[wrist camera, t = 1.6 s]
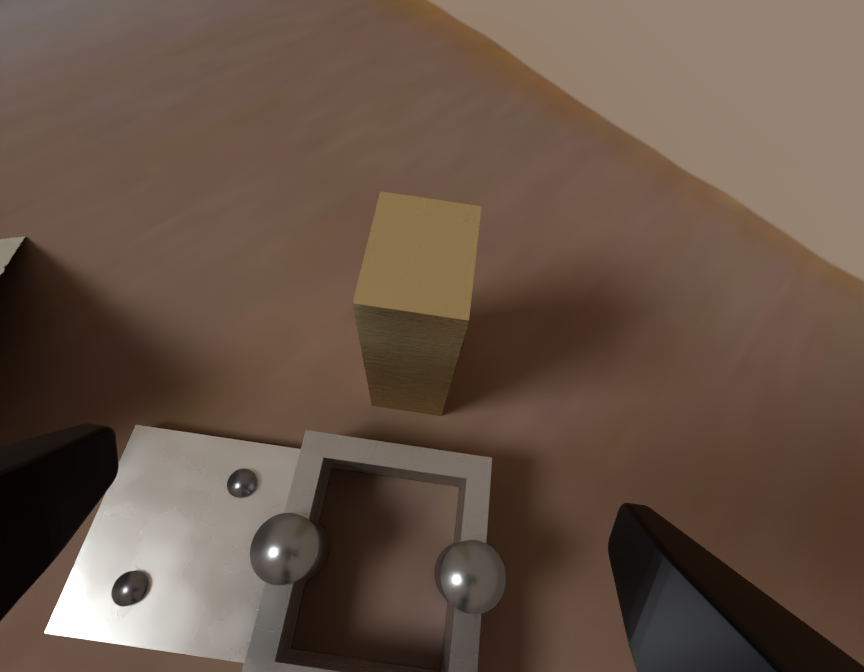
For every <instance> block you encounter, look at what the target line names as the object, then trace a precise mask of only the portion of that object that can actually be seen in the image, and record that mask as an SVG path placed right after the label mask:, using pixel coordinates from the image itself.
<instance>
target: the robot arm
mask: <svg viewBox="0 0 864 672" xmlns="http://www.w3.org/2000/svg"><path fill="white" fill-rule="evenodd" d="M118 468H119V464H118V454H117V444H116V435H115V432H114V430H113V429H112V428H110V427H108V426H102V425H95V424H82V425H79V426H75V427H71V428H67V429H64V430H60V431H56V432H52V433H49V434H45V435H41V436H37V437H34V438H30V439H26V440H22V441H18V442H15V443H11V444H7V445H3V446H0V621H1V620H2V619H3V618H4V617H5V615H6V614H7V613H8V612H9V611H10V610H11V609H12V608H13V607H14V605H15V604H16V603H17V602H18V601H19V600H20V599H21V598H22V596H23V595H24V594H25V593H26V592H27V591H28V590H29V589H30V587H31V586H32V585H33V584H34V583H35V582H36V581H37V580H38V579H39V577H40V576H41V575H42V574H43V573H44V572H45V570H46V569H47V568H48V567H49V566H50V565H51V563H52V562H53V561H54V560H55V559H56V557H57V556H58V555H59V554H60V552H61V551H62V550H63V548H64V547H65V546H66V545H67V543H68V542H69V541H70V539H71V538H72V537H73V535H74V534H75V533H76V531H77V530H78V529H79V527H80V526H81V525H82V523H83V522H84V521H85V519H86V518H87V517H88V515H89V514H90V513H91V511H92V510H93V509H94V507H95V506H96V505H97V503H98V502H99V501H100V499H101V498H102V497H103V495H104V494H105V493H106V491H107V490H108V489H109V487H110V486H111V485H112V483H113V482H114V480H115V478H116V476H117V473H118ZM608 553H609V558H610V563H611V567H612V572H613V576H614V581H615V585H616V590H617V594H618V599H619V603H620V608H621V612H622V617H623V621H624V626H625V630H626V634H627V638H628V642H629V646H630V650H631V653H632V656H633V659H634V663H635V666H636V669H637V672H864V666H862V665H861V664H860V663H858V662H857V661H856V660H854V659H853V658H852V657H850V656H849V655H848V654H846V653H845V652H843V651H842V650H841V649H839V648H838V647H837V646H835V645H834V644H833V643H831V642H830V641H829V640H827V639H826V638H825V637H823V636H822V635H821V634H819V633H818V632H817V631H815V630H814V629H812V628H811V627H810V626H808V625H807V624H806V623H804V622H803V621H802V620H800V619H799V618H798V617H796V616H795V615H794V614H792V613H791V612H790V611H788V610H787V609H786V608H784V607H783V606H781V605H780V604H779V603H777V602H776V601H775V600H773V599H772V598H771V597H769V596H768V595H767V594H765V593H764V592H763V591H761V590H760V589H759V588H757V587H756V586H755V585H753V584H752V583H750V582H749V581H748V580H746V579H745V578H744V577H742V576H741V575H740V574H738V573H737V572H736V571H734V570H733V569H732V568H730V567H729V566H728V565H726V564H725V563H724V562H722V561H721V560H720V559H718V558H717V557H715V556H714V555H713V554H711V553H710V552H709V551H707V550H706V549H705V548H703V547H702V546H701V545H699V544H698V543H697V542H695V541H694V540H693V539H691V538H690V537H689V536H687V535H686V534H685V533H683V532H682V531H680V530H679V529H678V528H676V527H675V526H674V525H672V524H671V523H670V522H668V521H667V520H666V519H664V518H663V517H662V516H660V515H659V514H658V513H656V512H655V511H654V510H652V509H651V508H649V507H648V506H645V505H638V504H631V503H625V504H622V505H621V507H620V508H619V510H618V513H617V517H616V520H615V523H614V526H613V529H612V532H611V535H610V538H609V543H608Z"/></svg>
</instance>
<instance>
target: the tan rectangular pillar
mask: <svg viewBox="0 0 864 672" xmlns="http://www.w3.org/2000/svg"><path fill="white" fill-rule="evenodd" d="M480 215H481V206H476V205H469V204H462V203H455V202H449V201H442V200H435V199H428V198H421V197H415V196H408V195H401V194H394V193H387V192H381V191H380V195H379V199H378V203H377V207H376V211H375V215H374V219H373V223H372V227H371V231H370V235H369V239H368V243H367V247H366V251H365V255H364V259H363V263H362V267H361V271H360V275H359V279H358V283H357V288H356V292H355V296H354V300H353V308H354V313H355V319H356V324H357V329H358V335H359V340H360V345H361V351H362V356H363V361H364V367H365V372H366V377H367V383H368V388H369V393H370V399H371V404H372V406H378V407H385V408H392V409H398V410H405V411H412V412H419V413H426V414H432V415H439V416H441V415H442V412H443V408H444V405H445V402H446V398H447V395H448V391H449V388H450V384H451V381H452V377H453V374H454V371H455V367H456V364H457V360H458V357H459V353H460V351H462V347H463V342H464V336H465V333H466V329H467V326H468V322H469V316H470V307H471V298H472V288H473V279H474V270H475V261H476V251H477V242H478V233H479V224H480Z"/></svg>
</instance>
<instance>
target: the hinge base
mask: <svg viewBox="0 0 864 672" xmlns="http://www.w3.org/2000/svg"><path fill="white" fill-rule="evenodd" d="M332 468H335V469H341V470H348V471H355V472H362V473H368V474H375V475H382V476H389V477H395V478H402V479H409V480H416V481H422V482H429V483H436V484H443V485H449V486H456V487H459V497H458V507H457V517H456V527H455V537H454V544H452V545H450V546H448V547H447V548H445V549H444V550H443V551H442V553H441V554H440V556H439V557H438V560H437V562H436V566H435V581H436V584H437V587H438V589H439V591H440V593H441V594H442V595H443V597H444V598H445V599H447V600H448V607H447V617H446V627H445V637H444V647H443V657H442V667H441V671H437V670H431V669H424V668H417V667H411V666H404V665H397V664H390V663H384V662H377V661H370V660H364V659H357V658H350V657H343V656H337V655H330V654H323V653H317V652H310V651H303V650H296V649H291V644H292V640H293V636H294V631H295V627H296V623H297V618H298V614H299V609H300V605H301V601H302V596H303V592H304V587H305V583H306V580H307V579H309V578H311V577H313V576H314V575H316V574H317V573H318V572H319V571H320V570H321V569H322V567H323V566H324V565H325V563H326V561H327V558H328V555H329V550H330V543H329V538H328V535H327V533H326V531H325V529H324V528H323V527H322V526H321V525H320V524H319V522H320V517H321V513H322V509H323V504H324V500H325V495H326V491H327V487H328V482H329V478H330V473H331V469H332ZM491 468H492V458H491V457H484V456H477V455H470V454H464V453H457V452H450V451H443V450H437V449H430V448H423V447H416V446H410V445H403V444H396V443H389V442H383V441H376V440H369V439H362V438H356V437H349V436H342V435H335V434H328V433H322V432H315V431H308V430H306V431H305V435H304V439H303V443H302V446H301V449H297V448H290V447H283V446H276V445H270V444H263V443H256V442H249V441H243V440H236V439H229V438H222V437H215V436H209V435H202V434H195V433H188V432H182V431H175V430H168V429H161V428H155V427H148V426H141V425H135V428H134V430H133V432H132V435H131V437H130V439H129V441H128V444H127V446H126V448H125V450H124V453H123V455H122V457H121V460H120V462H119V468H118V473H117V476H116V478H115V480H114V482H113V483H112V485H111V486H110V487H109V489H108V490H107V491H106V494H105V496H104V498H103V500H102V503H101V505H100V507H99V509H98V512H97V514H96V516H95V519H94V521H93V523H92V525H91V528H90V530H89V532H88V534H87V537H86V539H85V541H84V544H83V546H82V548H81V550H80V553H79V555H78V557H77V559H76V562H75V564H74V566H73V569H72V571H71V573H70V575H69V578H68V580H67V582H66V584H65V587H64V589H63V591H62V593H61V596H60V598H59V600H58V603H57V605H56V607H55V609H54V612H53V614H52V616H51V618H50V621H49V623H48V625H47V628H46V630H45V632H44V633H46V634H53V635H60V636H67V637H73V638H80V639H87V640H93V641H100V642H107V643H114V644H120V645H127V646H134V647H140V648H147V649H154V650H161V651H167V652H174V653H181V654H187V655H194V656H201V657H208V658H214V659H221V660H228V661H234V662H241V663H244V667H243V670H242V672H477V668H478V654H479V639H480V625H481V614H482V613H485V612H488V611H489V610H491V609H492V608H493V607H495V606H496V605H497V603H498V602H499V601H500V599H501V597H502V595H503V593H504V590H505V586H506V572H505V567H504V564H503V562H502V560H501V558H500V556H499V554H498V553H497V552H496V551H495V550H494V549H493V548H492V547H491V546H489V545H488V544H486V540H487V525H488V511H489V497H490V483H491Z"/></svg>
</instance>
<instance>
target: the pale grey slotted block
mask: <svg viewBox="0 0 864 672" xmlns="http://www.w3.org/2000/svg"><path fill="white" fill-rule="evenodd" d="M25 237H26V236H25ZM25 237H18V238H8V239H6V238H5V239H0V275H1V274H2V273H3V272H4V269H5V268H3V267H5V265H7V264H9V263H8V262H9V261H11V260H10V259H11V258H12V255H14V253H16V252H15V251H17V250H16V249H17V247H19V246H20V245H21V244H20V243H22V241H23V239H24V238H25ZM19 244H20V245H19Z"/></svg>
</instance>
